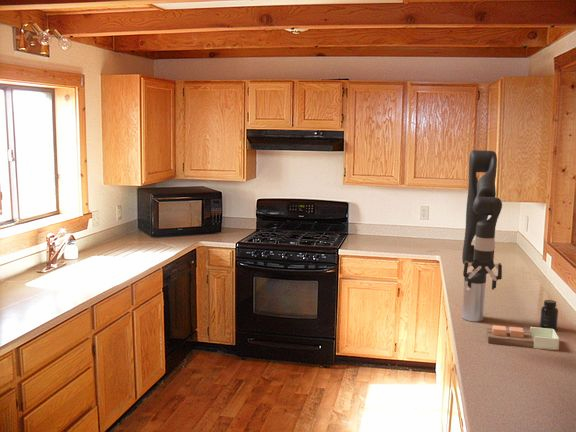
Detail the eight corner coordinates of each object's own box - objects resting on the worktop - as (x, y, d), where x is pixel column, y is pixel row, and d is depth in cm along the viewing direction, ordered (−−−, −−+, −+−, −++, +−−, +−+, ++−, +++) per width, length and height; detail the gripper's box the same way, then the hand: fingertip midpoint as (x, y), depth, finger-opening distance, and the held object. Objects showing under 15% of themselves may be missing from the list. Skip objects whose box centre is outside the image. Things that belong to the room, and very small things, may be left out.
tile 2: (508, 332, 252) (509, 326, 252) (521, 333, 251) (522, 327, 251) (510, 336, 247) (510, 330, 247) (523, 338, 246) (524, 331, 246)
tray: (529, 337, 254) (530, 326, 253) (552, 339, 252) (553, 329, 251) (533, 348, 242) (534, 336, 242) (558, 350, 240) (559, 339, 240)
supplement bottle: (543, 324, 271) (545, 297, 269) (559, 328, 266) (561, 301, 264) (536, 328, 266) (539, 301, 264) (552, 332, 261) (555, 304, 259)
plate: (486, 333, 257) (486, 328, 257) (529, 338, 253) (530, 332, 253) (488, 343, 247) (488, 337, 246) (533, 347, 243) (533, 341, 242)
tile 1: (492, 331, 254) (492, 325, 253) (505, 332, 252) (505, 326, 252) (493, 335, 249) (493, 329, 248) (506, 336, 248) (506, 330, 247)
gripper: (502, 247, 242) (499, 287, 245) (464, 244, 245) (462, 284, 248) (504, 251, 235) (501, 292, 238) (465, 249, 238) (462, 289, 241)
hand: (481, 288), depth 243 cm, fingers open, 8 cm apart
